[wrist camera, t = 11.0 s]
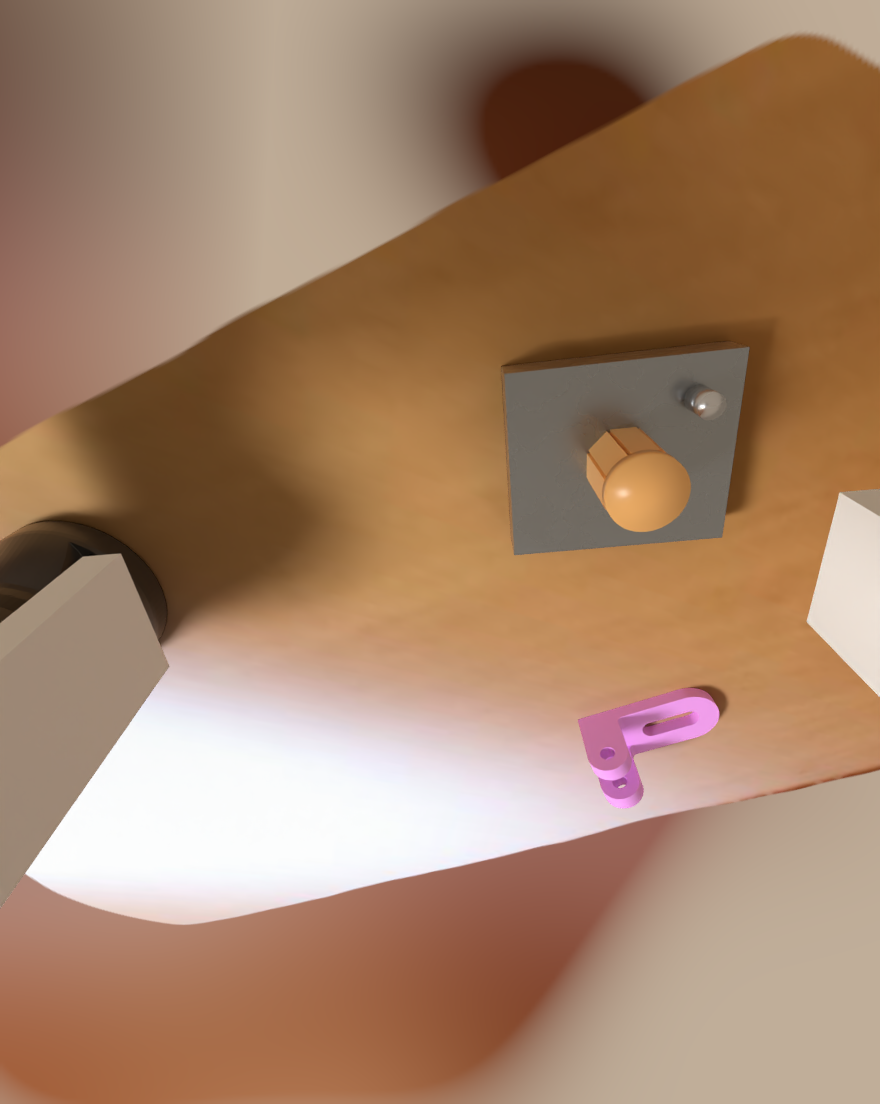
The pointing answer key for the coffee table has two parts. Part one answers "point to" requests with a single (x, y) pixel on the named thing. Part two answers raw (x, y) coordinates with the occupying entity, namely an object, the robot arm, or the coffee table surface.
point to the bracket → (641, 737)
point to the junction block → (613, 403)
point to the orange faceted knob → (637, 480)
